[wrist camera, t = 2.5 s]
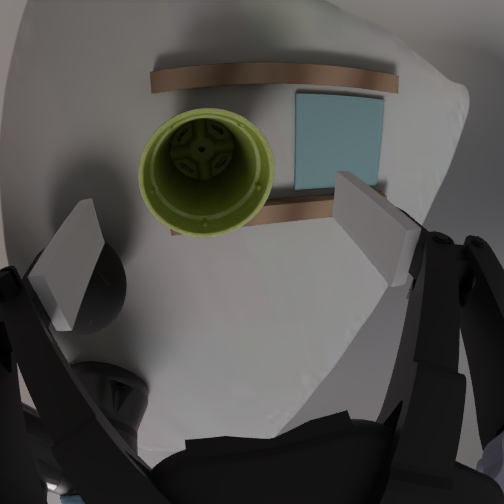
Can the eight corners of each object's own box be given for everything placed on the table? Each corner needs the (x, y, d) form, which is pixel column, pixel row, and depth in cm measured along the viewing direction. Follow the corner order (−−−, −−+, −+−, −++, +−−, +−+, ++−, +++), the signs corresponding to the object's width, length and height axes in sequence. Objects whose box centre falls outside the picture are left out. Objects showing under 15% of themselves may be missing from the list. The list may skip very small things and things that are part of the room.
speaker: (51, 277, 30) (23, 337, 22) (57, 205, 26) (16, 258, 18) (123, 299, 34) (112, 364, 26) (142, 231, 30) (127, 293, 22)
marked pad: (293, 188, 31) (295, 189, 30) (295, 93, 25) (296, 93, 25) (374, 184, 32) (376, 185, 32) (382, 99, 27) (384, 100, 26)
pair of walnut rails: (172, 228, 31) (171, 235, 29) (152, 72, 22) (149, 71, 21) (377, 206, 34) (384, 211, 33) (390, 74, 25) (398, 75, 24)
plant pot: (271, 137, 27) (301, 161, 20) (213, 211, 30) (221, 257, 23) (192, 81, 23) (191, 80, 16) (134, 163, 26) (114, 197, 19)
